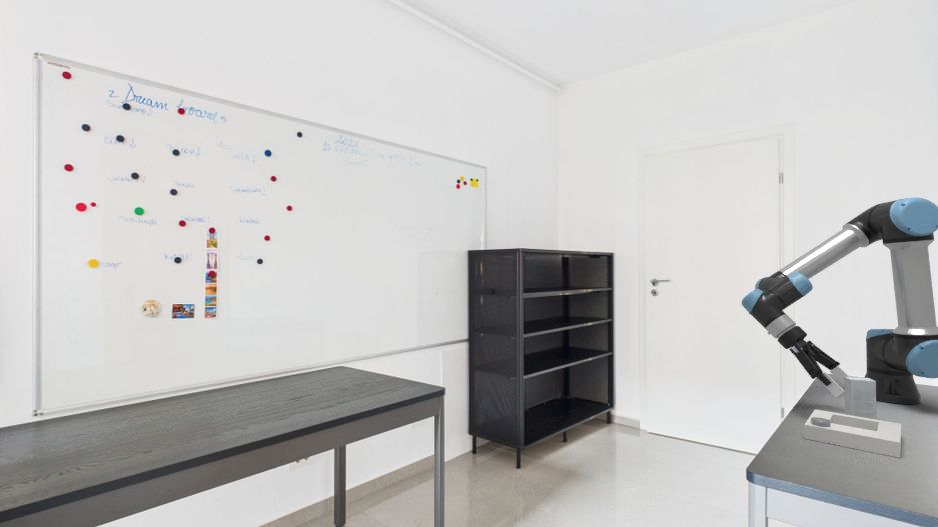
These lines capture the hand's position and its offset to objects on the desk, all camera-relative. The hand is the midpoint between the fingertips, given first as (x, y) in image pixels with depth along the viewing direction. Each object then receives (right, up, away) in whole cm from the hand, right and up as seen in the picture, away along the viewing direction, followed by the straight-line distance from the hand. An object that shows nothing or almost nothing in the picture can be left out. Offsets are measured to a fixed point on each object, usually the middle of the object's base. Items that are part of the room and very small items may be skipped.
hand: (847, 390), depth 136 cm
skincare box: (+2, -8, -2) cm, 9 cm away
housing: (-11, -8, -15) cm, 20 cm away
